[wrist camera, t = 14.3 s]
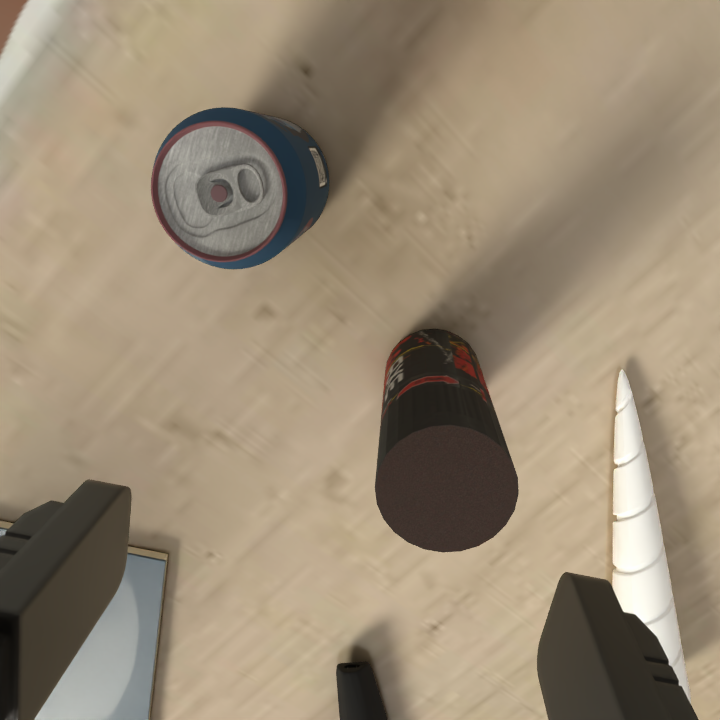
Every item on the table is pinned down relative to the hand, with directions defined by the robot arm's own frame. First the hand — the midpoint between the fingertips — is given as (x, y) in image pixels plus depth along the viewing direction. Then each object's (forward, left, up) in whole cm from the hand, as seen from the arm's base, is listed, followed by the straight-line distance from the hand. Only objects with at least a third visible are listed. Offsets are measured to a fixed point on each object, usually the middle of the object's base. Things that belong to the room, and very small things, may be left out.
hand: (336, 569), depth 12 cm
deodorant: (+6, +4, -30) cm, 31 cm away
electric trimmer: (+35, +5, -30) cm, 46 cm away
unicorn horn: (+15, +19, -30) cm, 38 cm away
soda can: (-4, -8, -30) cm, 31 cm away
